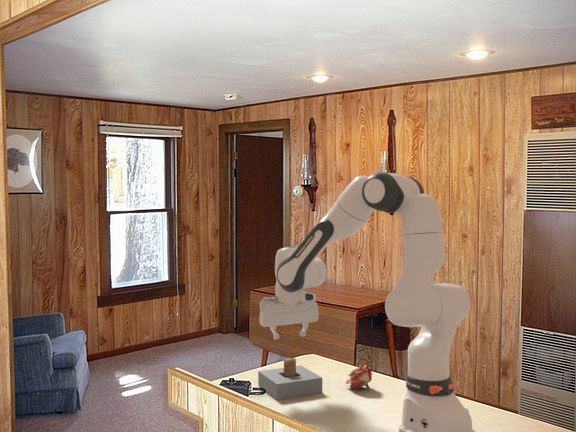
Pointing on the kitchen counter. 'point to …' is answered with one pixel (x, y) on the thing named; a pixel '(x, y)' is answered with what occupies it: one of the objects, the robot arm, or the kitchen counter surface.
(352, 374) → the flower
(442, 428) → the robot arm
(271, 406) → the kitchen counter surface
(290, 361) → the peg
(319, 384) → the socket block
